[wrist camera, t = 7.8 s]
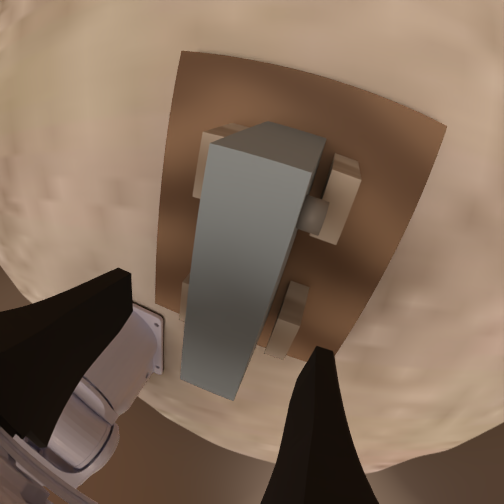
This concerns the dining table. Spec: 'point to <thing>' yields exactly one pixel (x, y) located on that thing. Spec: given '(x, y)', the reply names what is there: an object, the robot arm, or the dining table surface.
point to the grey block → (245, 246)
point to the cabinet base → (324, 187)
